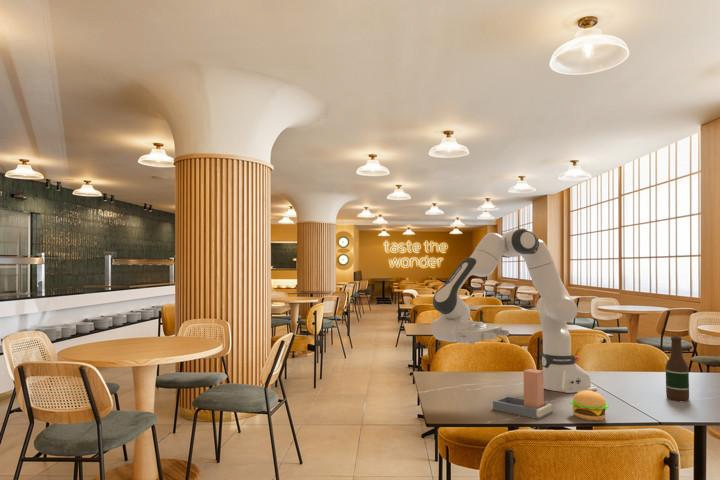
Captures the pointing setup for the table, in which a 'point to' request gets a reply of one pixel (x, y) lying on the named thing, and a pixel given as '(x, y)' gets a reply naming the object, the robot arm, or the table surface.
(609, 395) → the table surface
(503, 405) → the slot board
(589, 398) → the hamburger
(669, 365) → the beer bottle
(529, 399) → the post
